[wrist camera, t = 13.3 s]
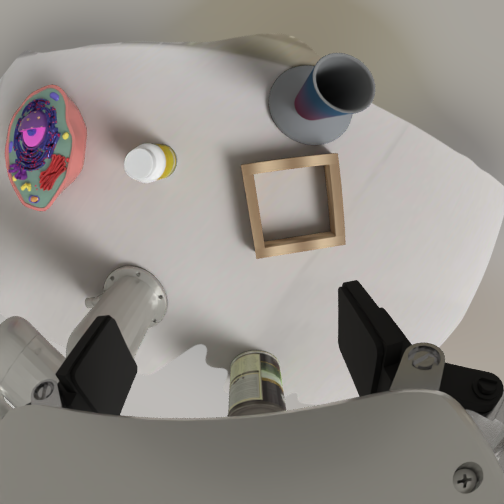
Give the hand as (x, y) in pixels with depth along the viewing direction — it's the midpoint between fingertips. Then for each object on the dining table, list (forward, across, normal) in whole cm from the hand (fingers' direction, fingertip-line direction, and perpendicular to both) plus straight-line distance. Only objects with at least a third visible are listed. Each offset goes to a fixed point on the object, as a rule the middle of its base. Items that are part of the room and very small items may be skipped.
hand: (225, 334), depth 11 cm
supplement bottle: (+34, +11, -8) cm, 36 cm away
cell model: (+34, +29, -16) cm, 47 cm away
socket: (+33, -8, +2) cm, 34 cm away
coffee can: (+34, +3, +34) cm, 48 cm away
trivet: (+33, -13, -13) cm, 38 cm away
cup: (+33, -13, -13) cm, 38 cm away
